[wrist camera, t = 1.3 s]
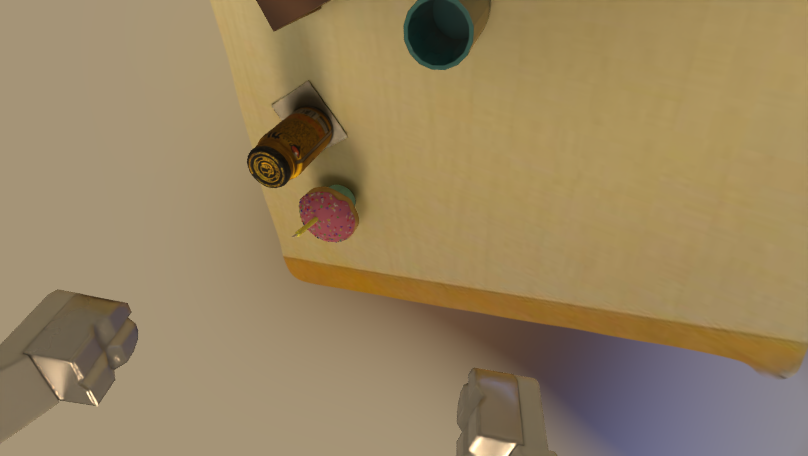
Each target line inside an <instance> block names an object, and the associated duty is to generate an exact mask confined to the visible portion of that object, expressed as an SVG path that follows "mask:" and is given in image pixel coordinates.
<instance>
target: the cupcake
mask: <svg viewBox="0 0 808 456" xmlns="http://www.w3.org/2000/svg"><path fill="white" fill-rule="evenodd" d="M300 200H301V201H300V202H299V203H300V205H299V208H300V215H301V216H300V218H301V219H302V221H303V224H304V226H303V227H302V228H300V229H299V230H298V231H297V232H296V233H295V235H294V236H292V237H295V236H300V235H301V234H302V233H304V232H305V231H306V230H309V231H310V232H311V233H312V234H314V235H315V236H317V238H320V239H322V240H324V241H326V242H339V241H344V240H345V239H347V238H349V237H350V236H351V235H352V234H353V233H354V231H355V229H356V228H357V226H358V224H359V217H358V213H357V211H356V209H355V197H354V195H353V194H352V192H351V191H350V190H349V189H347V188H346V187H344V186H341V185H332V186H329V187H318V188H313V189H312V190H310V191H309V192H308V193H307V194H306V195H305V196H303V197H302V198H301V199H300Z"/></svg>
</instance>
